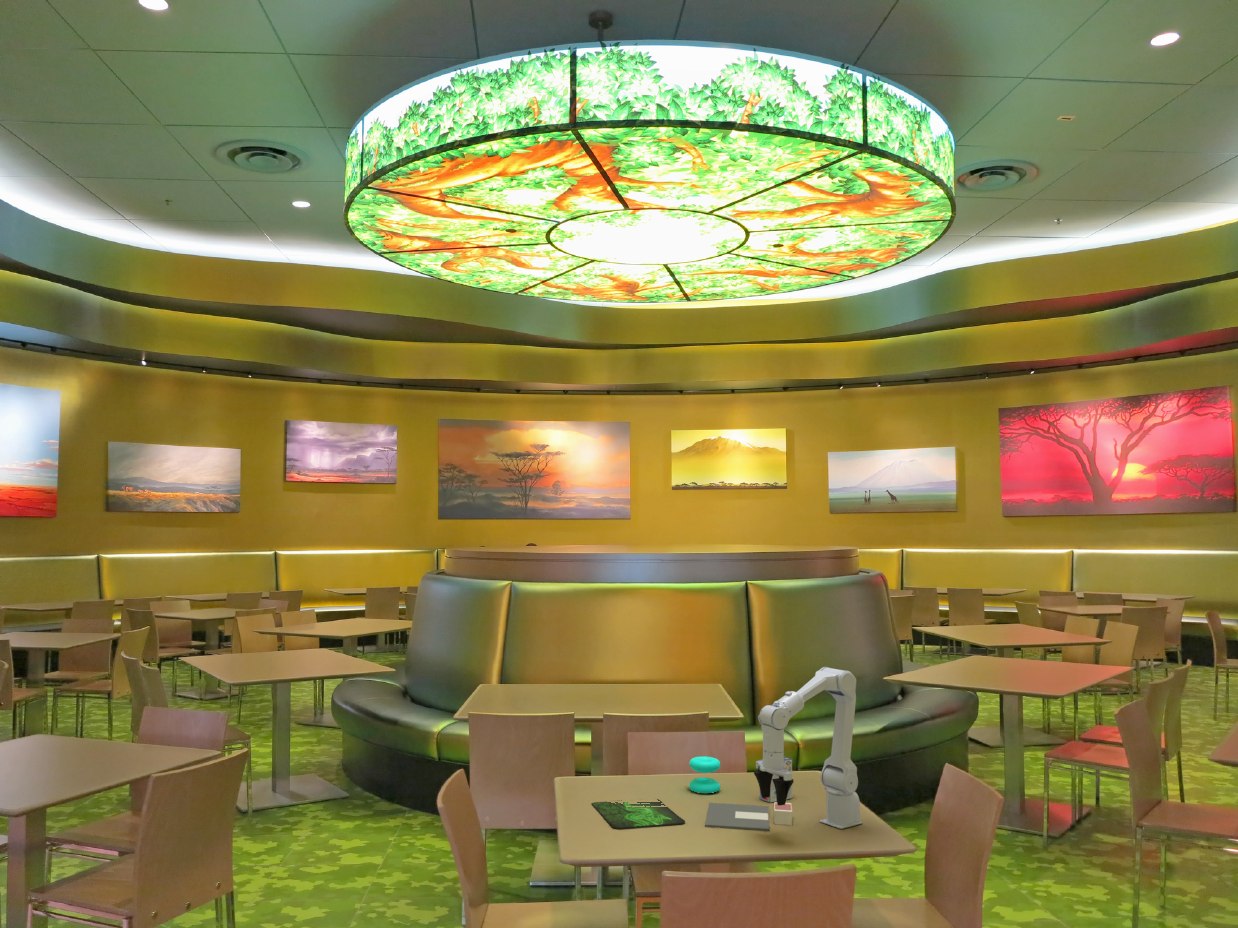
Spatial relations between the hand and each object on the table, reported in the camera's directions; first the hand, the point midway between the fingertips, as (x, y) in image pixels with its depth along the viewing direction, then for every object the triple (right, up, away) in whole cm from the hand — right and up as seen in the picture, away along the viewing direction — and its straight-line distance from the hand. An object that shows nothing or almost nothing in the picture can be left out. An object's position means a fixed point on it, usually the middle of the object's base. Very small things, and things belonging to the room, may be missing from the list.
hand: (773, 800), depth 251 cm
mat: (-8, -11, +17) cm, 21 cm away
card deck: (+5, -11, +15) cm, 19 cm away
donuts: (-15, -13, +44) cm, 48 cm away
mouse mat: (-37, -11, +19) cm, 43 cm away
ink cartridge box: (+7, -13, +36) cm, 39 cm away
